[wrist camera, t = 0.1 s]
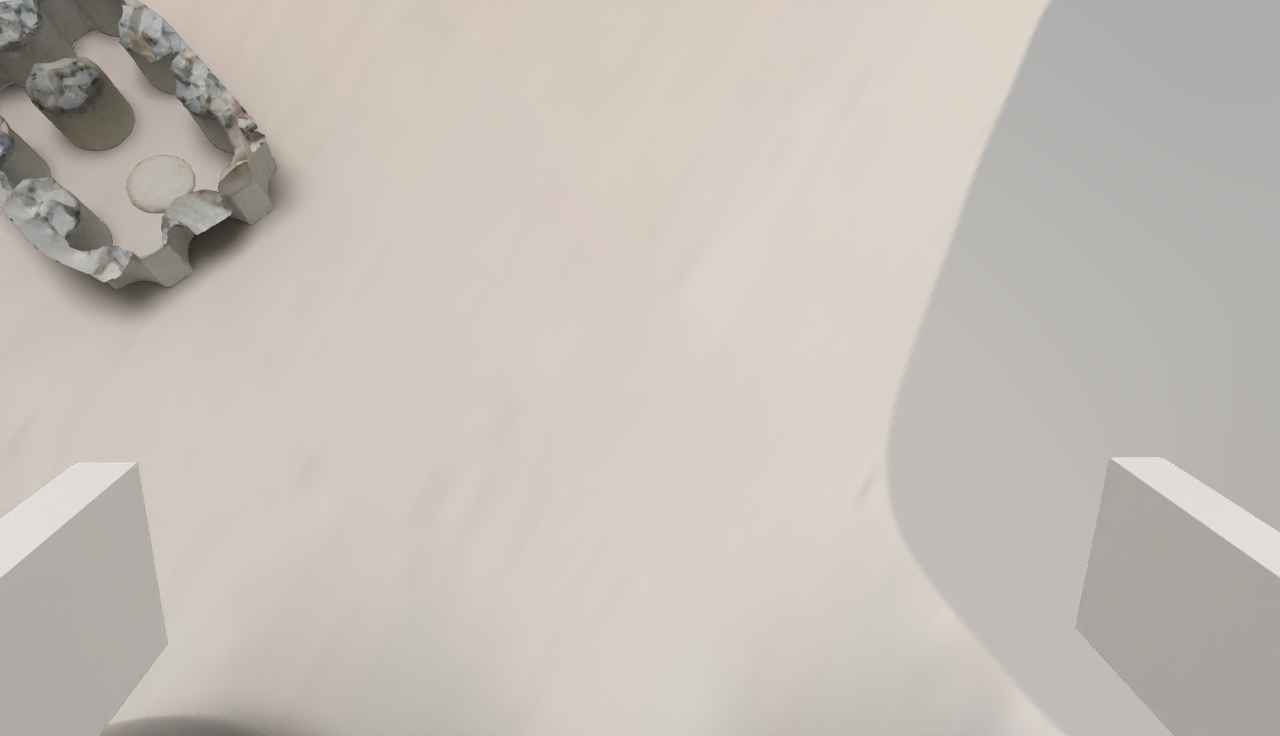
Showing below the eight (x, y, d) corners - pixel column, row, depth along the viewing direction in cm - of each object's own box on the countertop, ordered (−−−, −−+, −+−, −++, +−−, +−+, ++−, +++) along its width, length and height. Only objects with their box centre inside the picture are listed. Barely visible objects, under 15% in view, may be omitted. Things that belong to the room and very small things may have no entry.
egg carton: (314, 200, 31) (276, 134, 27) (123, 333, 29) (52, 283, 25) (139, 3, 32) (80, -85, 29) (-51, 115, 30) (-142, 37, 27)
